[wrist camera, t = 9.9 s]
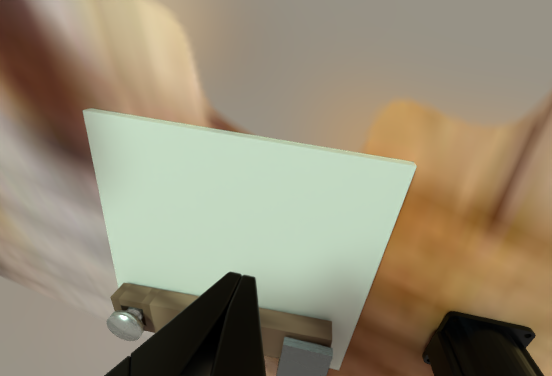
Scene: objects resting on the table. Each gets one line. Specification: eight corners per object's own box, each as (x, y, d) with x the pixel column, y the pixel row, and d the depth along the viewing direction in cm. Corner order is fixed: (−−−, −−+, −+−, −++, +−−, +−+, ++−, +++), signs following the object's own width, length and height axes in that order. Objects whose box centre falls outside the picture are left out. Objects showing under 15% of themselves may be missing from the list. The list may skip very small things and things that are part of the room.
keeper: (332, 322, 24) (332, 356, 22) (318, 365, 27) (317, 400, 25) (288, 312, 25) (283, 344, 22) (279, 355, 28) (274, 388, 25)
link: (130, 309, 28) (119, 325, 26) (123, 282, 26) (110, 297, 25) (325, 348, 26) (325, 368, 24) (331, 321, 24) (332, 340, 22)
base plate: (413, 161, 18) (436, 191, 14) (338, 362, 28) (340, 411, 24) (91, 108, 20) (35, 120, 16) (129, 311, 30) (100, 348, 26)
